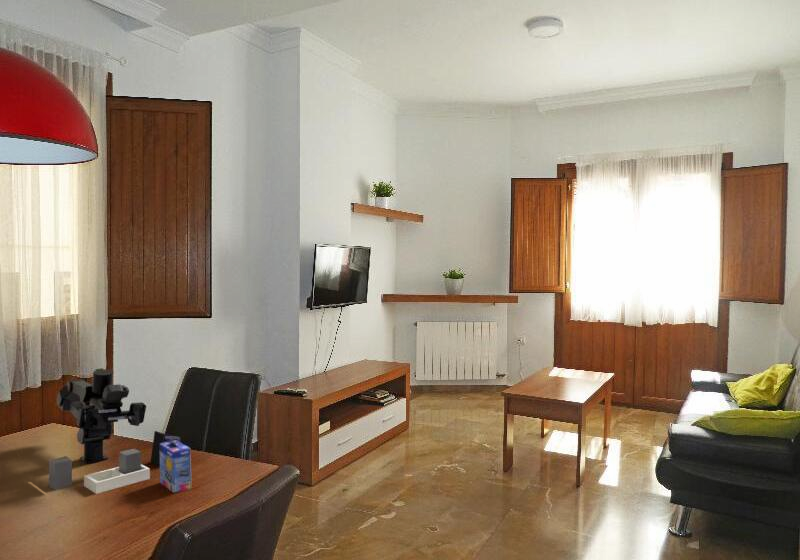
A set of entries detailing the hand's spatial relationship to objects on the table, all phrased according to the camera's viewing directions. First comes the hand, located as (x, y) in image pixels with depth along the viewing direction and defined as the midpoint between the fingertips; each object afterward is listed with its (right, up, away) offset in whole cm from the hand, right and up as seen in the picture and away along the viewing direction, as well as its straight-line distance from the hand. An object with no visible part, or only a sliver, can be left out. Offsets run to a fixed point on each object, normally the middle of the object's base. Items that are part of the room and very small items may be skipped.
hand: (122, 425), depth 172 cm
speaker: (+6, -16, +16) cm, 24 cm away
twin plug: (+2, -16, +1) cm, 16 cm away
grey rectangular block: (-15, -16, -5) cm, 23 cm away
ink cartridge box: (+16, -17, -3) cm, 24 cm away
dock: (-1, -17, -1) cm, 17 cm away
